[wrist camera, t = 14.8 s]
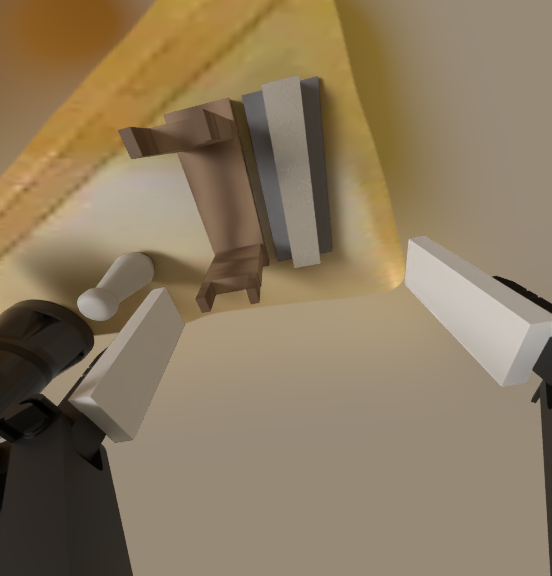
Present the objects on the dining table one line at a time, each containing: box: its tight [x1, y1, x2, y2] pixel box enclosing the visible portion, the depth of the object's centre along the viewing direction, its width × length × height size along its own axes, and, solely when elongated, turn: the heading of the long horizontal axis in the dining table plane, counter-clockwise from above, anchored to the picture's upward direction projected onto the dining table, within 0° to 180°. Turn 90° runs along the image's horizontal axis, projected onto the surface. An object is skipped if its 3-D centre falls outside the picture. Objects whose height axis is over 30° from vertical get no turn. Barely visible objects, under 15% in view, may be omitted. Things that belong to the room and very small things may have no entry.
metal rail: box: [261, 75, 320, 268], centre depth 32 cm, size 4×22×4 cm, turn 11°
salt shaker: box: [77, 252, 154, 321], centre depth 35 cm, size 6×6×13 cm
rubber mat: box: [242, 76, 332, 261], centre depth 34 cm, size 9×22×1 cm, turn 11°
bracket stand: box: [118, 98, 269, 313], centre depth 29 cm, size 8×22×14 cm, turn 11°
